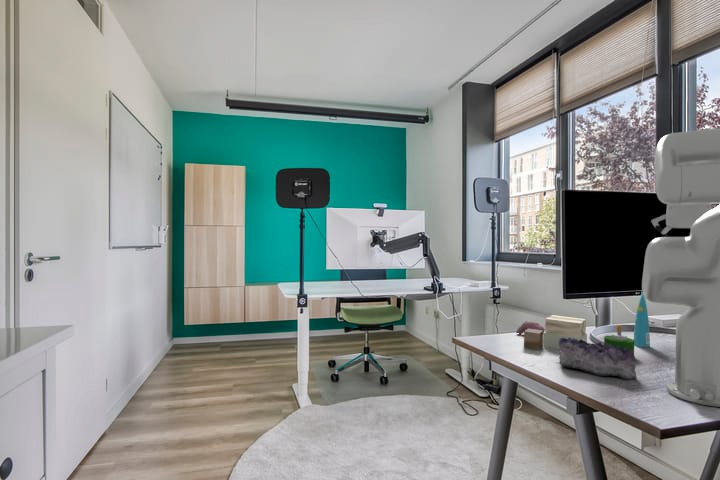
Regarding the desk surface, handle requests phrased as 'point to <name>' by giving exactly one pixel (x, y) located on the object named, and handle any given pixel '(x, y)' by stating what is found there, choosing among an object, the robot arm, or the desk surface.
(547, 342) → the tower base
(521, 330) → the pink animal figurine
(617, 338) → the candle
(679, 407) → the desk surface
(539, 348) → the walnut block
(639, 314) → the tube
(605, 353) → the geode
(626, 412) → the desk surface
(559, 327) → the cream wooden block
